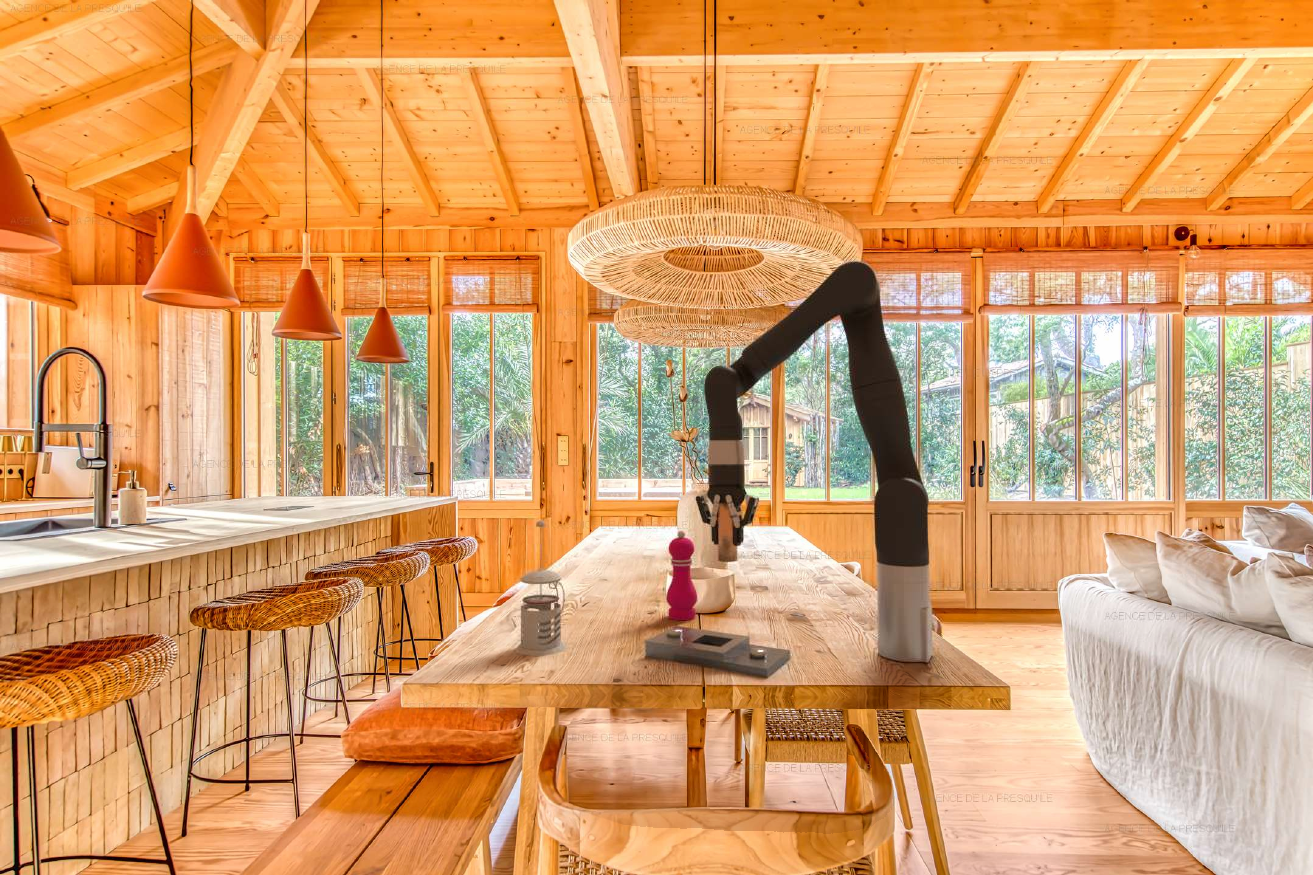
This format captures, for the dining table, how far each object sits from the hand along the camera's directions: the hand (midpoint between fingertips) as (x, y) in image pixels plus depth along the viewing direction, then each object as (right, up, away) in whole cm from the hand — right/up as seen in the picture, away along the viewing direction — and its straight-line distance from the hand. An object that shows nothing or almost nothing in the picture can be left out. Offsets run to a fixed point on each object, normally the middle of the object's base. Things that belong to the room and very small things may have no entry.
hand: (727, 544), depth 137 cm
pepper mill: (-9, -20, +16) cm, 27 cm away
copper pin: (0, -3, 0) cm, 3 cm away
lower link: (-1, -19, -16) cm, 25 cm away
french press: (-37, -19, -7) cm, 42 cm away
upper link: (-7, -19, -13) cm, 24 cm away
